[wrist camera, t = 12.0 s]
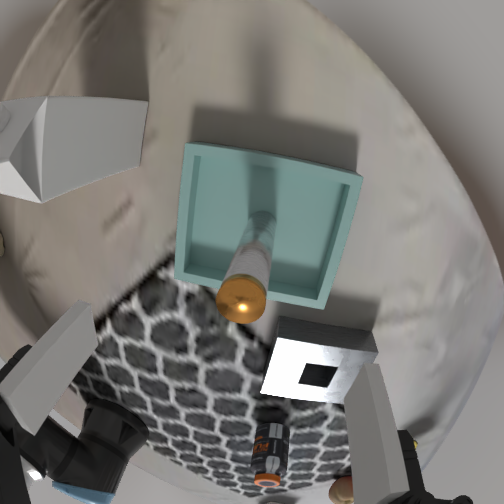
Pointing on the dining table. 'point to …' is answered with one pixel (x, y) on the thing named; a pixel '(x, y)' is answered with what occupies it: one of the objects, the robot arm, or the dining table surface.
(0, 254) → the flower pot
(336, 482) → the fruit
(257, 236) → the pin
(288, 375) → the block
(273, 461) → the pill bottle
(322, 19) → the dining table surface
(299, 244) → the tray
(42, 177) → the milk carton
